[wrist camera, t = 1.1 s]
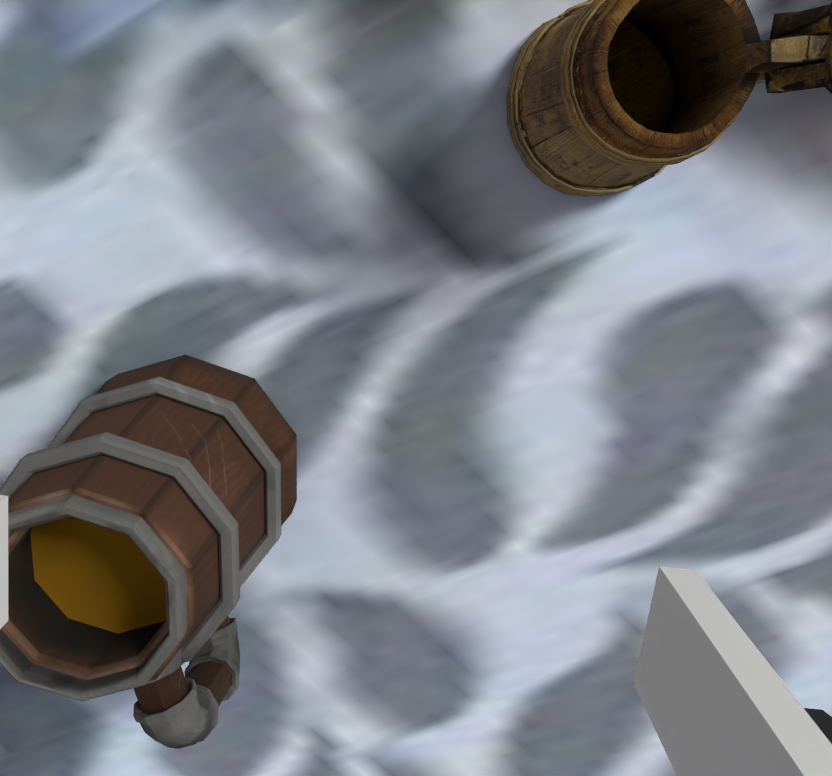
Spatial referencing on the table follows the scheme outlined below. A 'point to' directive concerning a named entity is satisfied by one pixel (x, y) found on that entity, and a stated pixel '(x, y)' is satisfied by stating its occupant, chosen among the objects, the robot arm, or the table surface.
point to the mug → (146, 542)
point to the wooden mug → (649, 84)
